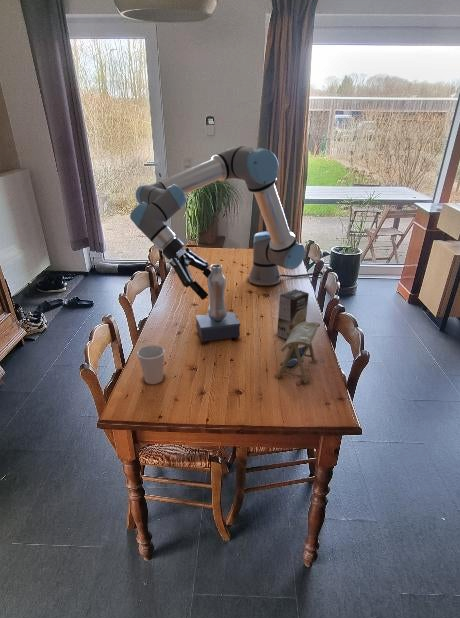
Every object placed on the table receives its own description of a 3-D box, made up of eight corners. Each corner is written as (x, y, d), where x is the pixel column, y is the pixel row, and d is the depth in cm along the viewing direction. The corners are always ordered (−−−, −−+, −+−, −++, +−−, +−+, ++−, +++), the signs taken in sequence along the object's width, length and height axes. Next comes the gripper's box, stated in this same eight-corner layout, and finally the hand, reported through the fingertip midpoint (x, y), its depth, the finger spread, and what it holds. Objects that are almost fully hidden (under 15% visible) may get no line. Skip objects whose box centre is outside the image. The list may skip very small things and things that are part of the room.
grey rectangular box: (233, 328, 167) (233, 311, 163) (240, 340, 158) (240, 323, 154) (196, 332, 164) (195, 315, 160) (201, 345, 155) (200, 327, 151)
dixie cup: (144, 388, 132) (140, 360, 126) (137, 375, 138) (133, 347, 133) (170, 382, 135) (168, 355, 129) (162, 369, 141) (160, 342, 136)
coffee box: (289, 341, 158) (293, 300, 149) (276, 335, 162) (278, 295, 153) (305, 333, 163) (309, 293, 155) (291, 327, 167) (295, 288, 159)
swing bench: (288, 356, 149) (292, 317, 141) (316, 361, 146) (321, 321, 138) (276, 378, 137) (279, 336, 129) (306, 384, 134) (311, 342, 126)
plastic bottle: (224, 324, 154) (224, 269, 143) (206, 322, 155) (204, 268, 144) (228, 316, 159) (228, 263, 149) (210, 314, 160) (209, 262, 150)
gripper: (175, 241, 159) (215, 284, 164) (146, 262, 139) (193, 310, 144) (188, 227, 155) (228, 272, 160) (160, 247, 135) (207, 297, 140)
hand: (211, 290), depth 152 cm, fingers open, 13 cm apart
